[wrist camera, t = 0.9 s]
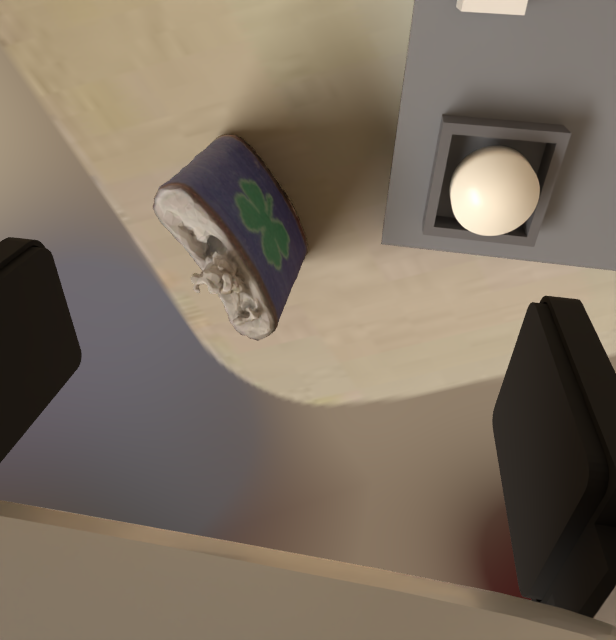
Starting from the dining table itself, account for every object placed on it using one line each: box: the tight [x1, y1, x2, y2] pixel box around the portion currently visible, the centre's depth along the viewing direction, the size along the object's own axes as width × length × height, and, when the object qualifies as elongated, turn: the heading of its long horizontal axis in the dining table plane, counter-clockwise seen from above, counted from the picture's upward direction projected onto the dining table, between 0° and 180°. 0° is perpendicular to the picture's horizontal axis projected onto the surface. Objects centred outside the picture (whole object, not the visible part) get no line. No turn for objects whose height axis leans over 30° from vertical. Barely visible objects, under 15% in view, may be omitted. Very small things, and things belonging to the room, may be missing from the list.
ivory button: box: [449, 145, 540, 236], centre depth 25 cm, size 4×4×2 cm
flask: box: [153, 135, 308, 341], centre depth 28 cm, size 9×3×11 cm, turn 30°
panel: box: [381, 0, 616, 271], centre depth 24 cm, size 18×17×4 cm
